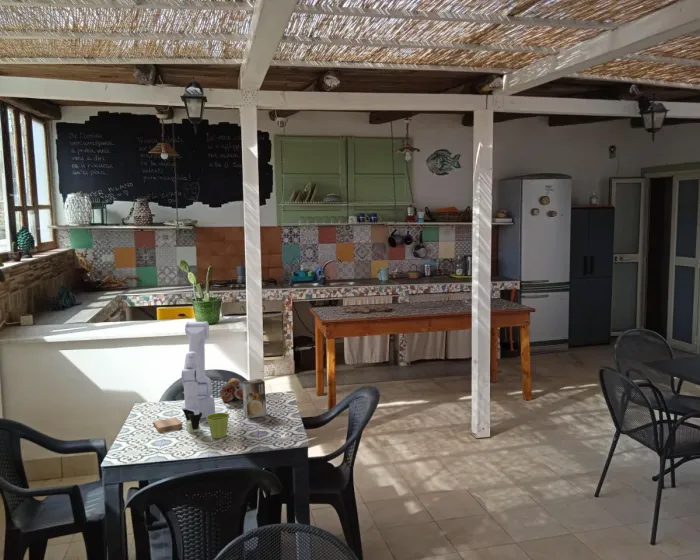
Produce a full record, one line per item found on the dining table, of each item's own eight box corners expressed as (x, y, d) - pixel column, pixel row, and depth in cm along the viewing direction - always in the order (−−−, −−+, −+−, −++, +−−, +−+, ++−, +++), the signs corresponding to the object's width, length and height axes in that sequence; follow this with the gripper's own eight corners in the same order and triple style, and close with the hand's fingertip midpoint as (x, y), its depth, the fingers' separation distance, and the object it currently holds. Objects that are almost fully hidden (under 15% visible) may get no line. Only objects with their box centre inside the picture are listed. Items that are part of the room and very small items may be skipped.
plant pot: (210, 442, 249) (209, 421, 248) (204, 435, 258) (203, 414, 257) (233, 437, 254) (232, 417, 253) (226, 431, 262) (225, 411, 261)
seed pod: (208, 393, 296) (237, 383, 295) (214, 377, 311) (241, 368, 310) (219, 415, 300) (247, 405, 299) (224, 398, 315) (251, 389, 314)
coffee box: (262, 411, 287) (261, 378, 285) (266, 415, 281) (265, 381, 279) (243, 414, 283) (242, 380, 281) (247, 418, 277) (245, 384, 275)
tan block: (176, 422, 275) (175, 417, 275) (182, 429, 267) (181, 423, 266) (153, 427, 270) (153, 421, 270) (158, 433, 262) (158, 428, 261)
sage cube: (196, 428, 266) (196, 418, 266) (199, 431, 262) (199, 421, 262) (186, 430, 264) (186, 420, 263) (189, 433, 260) (189, 423, 260)
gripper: (177, 393, 266) (178, 423, 267) (186, 401, 253) (188, 433, 255) (193, 390, 269) (194, 420, 271) (203, 398, 257) (205, 430, 258)
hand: (192, 426), depth 263 cm, fingers open, 7 cm apart
